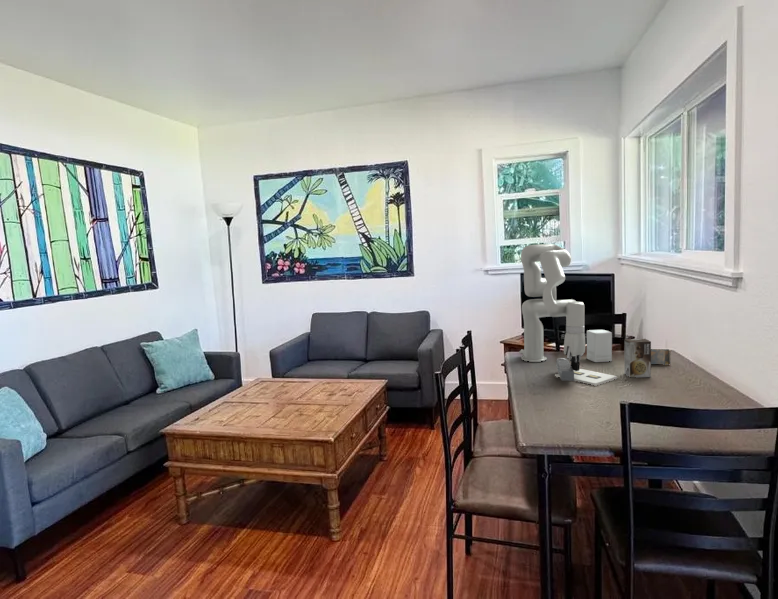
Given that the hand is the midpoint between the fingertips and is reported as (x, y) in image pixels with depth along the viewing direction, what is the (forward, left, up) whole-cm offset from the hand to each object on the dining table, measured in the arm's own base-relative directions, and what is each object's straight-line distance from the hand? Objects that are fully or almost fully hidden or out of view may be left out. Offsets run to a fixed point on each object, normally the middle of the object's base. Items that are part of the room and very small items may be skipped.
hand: (575, 370), depth 211 cm
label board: (+2, +3, -3) cm, 5 cm away
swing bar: (-2, -4, -1) cm, 5 cm away
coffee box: (+16, +22, -4) cm, 28 cm away
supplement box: (-11, +36, -4) cm, 38 cm away
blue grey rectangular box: (+12, +47, -4) cm, 49 cm away
